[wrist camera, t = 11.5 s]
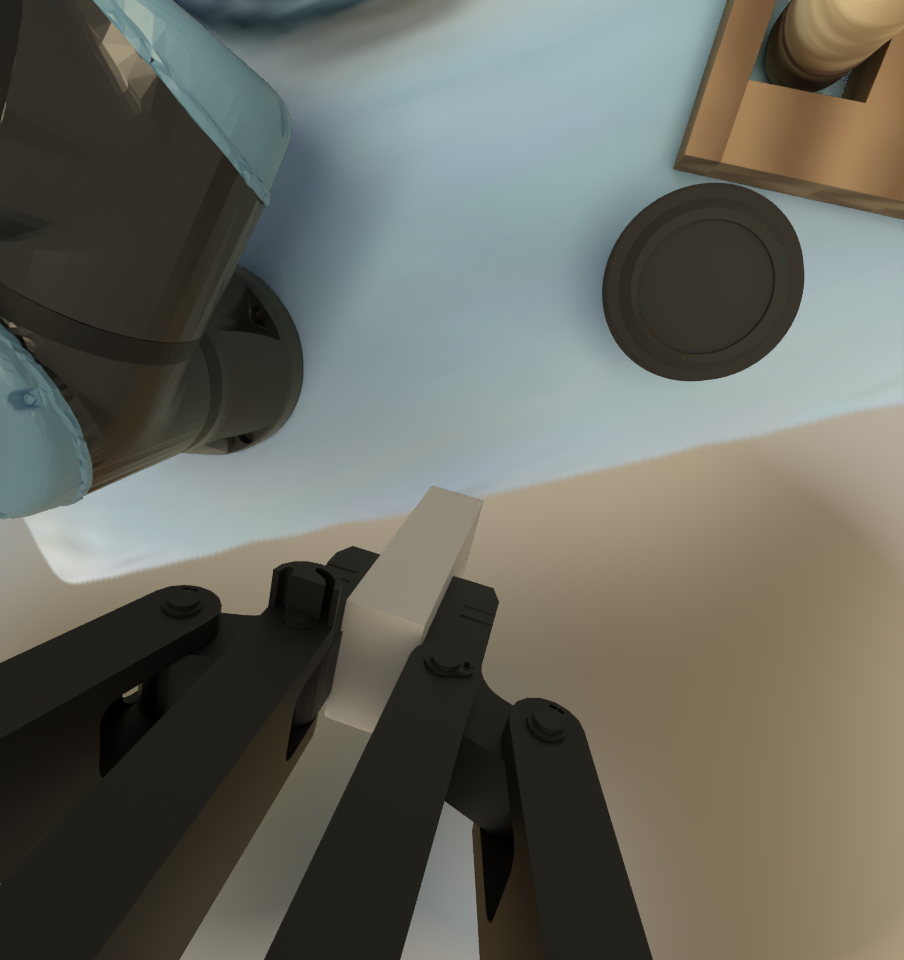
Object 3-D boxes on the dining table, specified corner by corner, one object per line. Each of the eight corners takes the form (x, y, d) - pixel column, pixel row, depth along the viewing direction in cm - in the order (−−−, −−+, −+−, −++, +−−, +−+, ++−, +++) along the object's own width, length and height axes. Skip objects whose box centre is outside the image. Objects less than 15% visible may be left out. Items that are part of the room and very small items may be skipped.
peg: (743, 93, 36) (811, 13, 25) (777, -4, 35) (866, -137, 24) (828, 110, 36) (936, 35, 25) (866, 12, 34) (1000, -116, 23)
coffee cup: (670, 178, 39) (716, 124, 25) (772, 276, 40) (872, 275, 26) (570, 291, 42) (561, 298, 28) (665, 379, 43) (702, 429, 29)
